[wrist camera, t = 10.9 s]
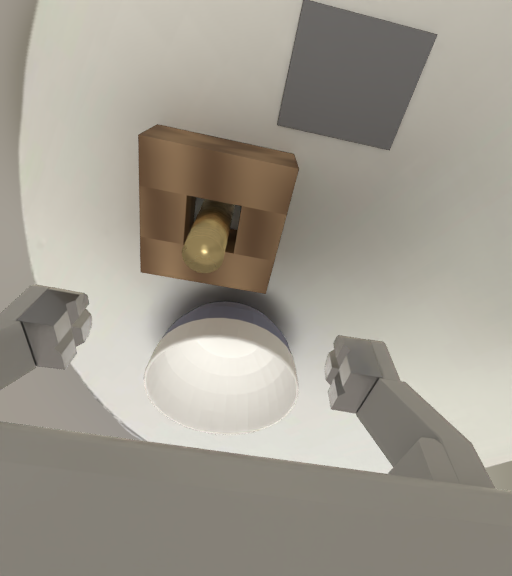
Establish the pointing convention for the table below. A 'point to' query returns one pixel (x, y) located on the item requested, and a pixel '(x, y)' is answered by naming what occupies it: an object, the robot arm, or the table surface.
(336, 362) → the robot arm
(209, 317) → the bowl
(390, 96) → the rubber mat
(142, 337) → the table surface
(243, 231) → the hole block
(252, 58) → the table surface
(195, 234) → the brass peg
